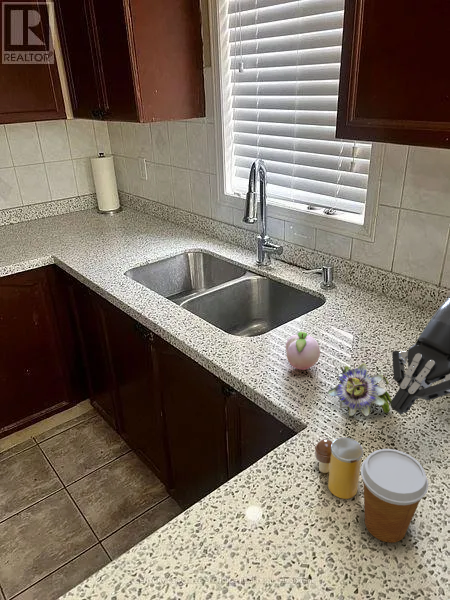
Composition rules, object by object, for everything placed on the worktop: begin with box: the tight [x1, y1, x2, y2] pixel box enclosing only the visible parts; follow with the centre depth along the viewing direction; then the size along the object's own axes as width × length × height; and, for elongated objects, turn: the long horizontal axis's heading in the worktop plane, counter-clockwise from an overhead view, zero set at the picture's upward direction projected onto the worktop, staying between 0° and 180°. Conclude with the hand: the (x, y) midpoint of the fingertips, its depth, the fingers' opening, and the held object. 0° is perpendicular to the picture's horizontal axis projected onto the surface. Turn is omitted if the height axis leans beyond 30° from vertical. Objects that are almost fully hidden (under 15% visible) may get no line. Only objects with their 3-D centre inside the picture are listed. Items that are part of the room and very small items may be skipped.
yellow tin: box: [327, 437, 364, 500], centre depth 76 cm, size 5×5×9 cm
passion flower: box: [327, 362, 392, 417], centre depth 97 cm, size 11×11×12 cm
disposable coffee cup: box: [360, 448, 429, 544], centre depth 69 cm, size 10×10×12 cm
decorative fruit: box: [285, 331, 321, 370], centre depth 109 cm, size 9×8×10 cm
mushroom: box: [314, 438, 333, 474], centre depth 81 cm, size 4×4×7 cm
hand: (396, 410), depth 78 cm, fingers closed
